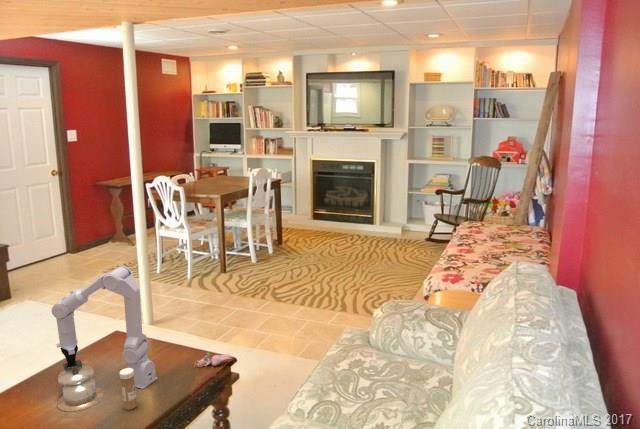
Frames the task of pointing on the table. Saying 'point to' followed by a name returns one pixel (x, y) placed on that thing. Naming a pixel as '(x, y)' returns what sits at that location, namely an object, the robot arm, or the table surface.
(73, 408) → the cooker pot
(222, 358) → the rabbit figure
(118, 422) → the table surface
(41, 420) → the table surface
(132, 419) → the table surface
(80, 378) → the cooker lid
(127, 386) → the sprinkles bottle
